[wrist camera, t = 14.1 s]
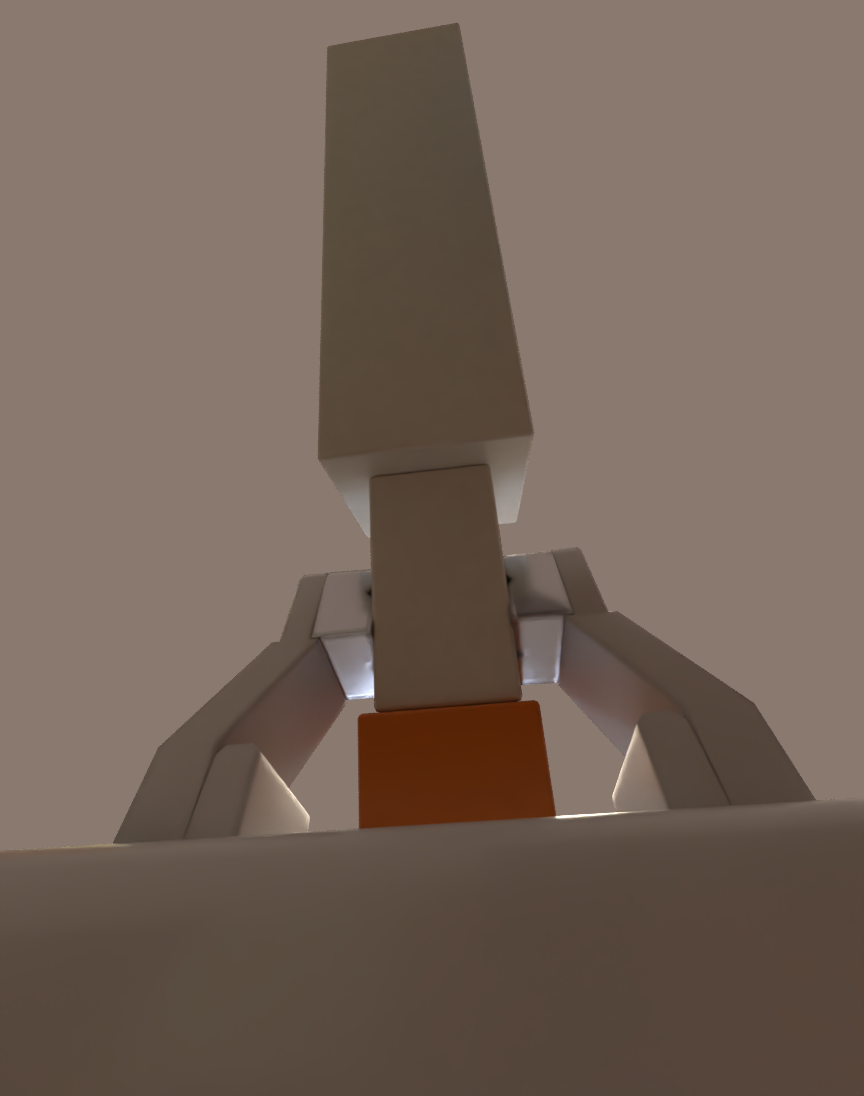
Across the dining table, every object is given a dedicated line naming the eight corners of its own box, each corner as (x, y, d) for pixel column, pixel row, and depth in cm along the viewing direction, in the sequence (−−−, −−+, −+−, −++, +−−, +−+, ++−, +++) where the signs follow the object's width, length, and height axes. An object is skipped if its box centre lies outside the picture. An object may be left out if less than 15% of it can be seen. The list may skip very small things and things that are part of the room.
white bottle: (306, 849, 5) (373, 797, 9) (608, 831, 5) (557, 785, 8) (326, 45, 12) (359, 191, 15) (459, 20, 12) (463, 174, 15)
